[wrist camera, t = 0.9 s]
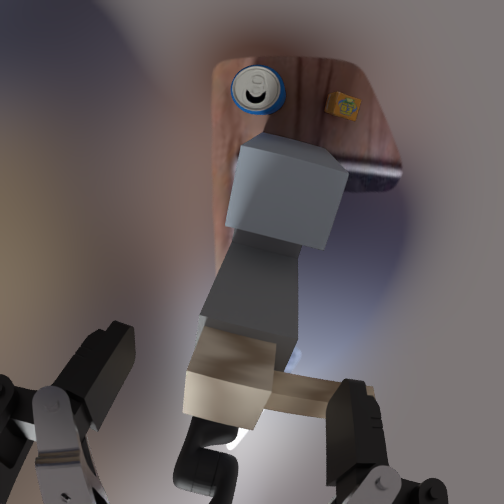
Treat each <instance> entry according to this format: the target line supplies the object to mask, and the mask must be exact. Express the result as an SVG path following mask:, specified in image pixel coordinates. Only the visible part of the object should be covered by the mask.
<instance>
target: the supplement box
mask: <svg viewBox="0 0 504 504" xmlns="http://www.w3.org/2000/svg"><path fill="white" fill-rule="evenodd" d="M360 104H361V99H358V98H355V97H352V96H349V95H346V94H343V93H341V92H338V91H337V92H333V93H330V94H328V97H327V101H326V106H325V111H324V112H326V113H328V114H331V115H335V116H338V117H341V118H345V119H348V120H352V121H356V117H357V114H358V111H359V107H360Z"/></svg>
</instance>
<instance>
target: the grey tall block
mask: <svg viewBox="0 0 504 504" xmlns="http://www.w3.org/2000/svg"><path fill="white" fill-rule="evenodd" d="M348 175H349V173H348V172H347V171H346V170H345V169H344V168H343V167H342V166H341V165H340V163H339V162H338V161H337V160H336V159H335V158H334V157H333V156H332V155H331V154H330V153H329V152H328V151H327V150H326V149H325V148H322V147H319V146H315V145H312V144H308V143H304V142H301V141H297V140H293V139H289V138H285V137H281V136H277V135H273V134H269V133H264V132H262V133H261V134H259V135H257V136H256V137H254V138H252V139H251V140H249V141H248V142H246V143H244V144H243V145H241V149H240V154H239V158H238V163H237V168H236V173H235V178H234V182H233V187H232V192H231V197H230V202H229V207H228V212H227V218H226V223H225V226H228V227H232V228H236V229H241V230H245V231H249V232H253V233H257V234H261V235H265V236H269V237H272V238H276V239H280V240H284V241H288V242H292V243H296V244H300V245H304V246H308V247H311V248H315V249H319V250H323V251H324V249H325V246H326V243H327V240H328V237H329V234H330V231H331V228H332V225H333V222H334V219H335V216H336V213H337V210H338V207H339V204H340V201H341V198H342V195H343V192H344V188H345V185H346V182H347V179H348Z"/></svg>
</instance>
